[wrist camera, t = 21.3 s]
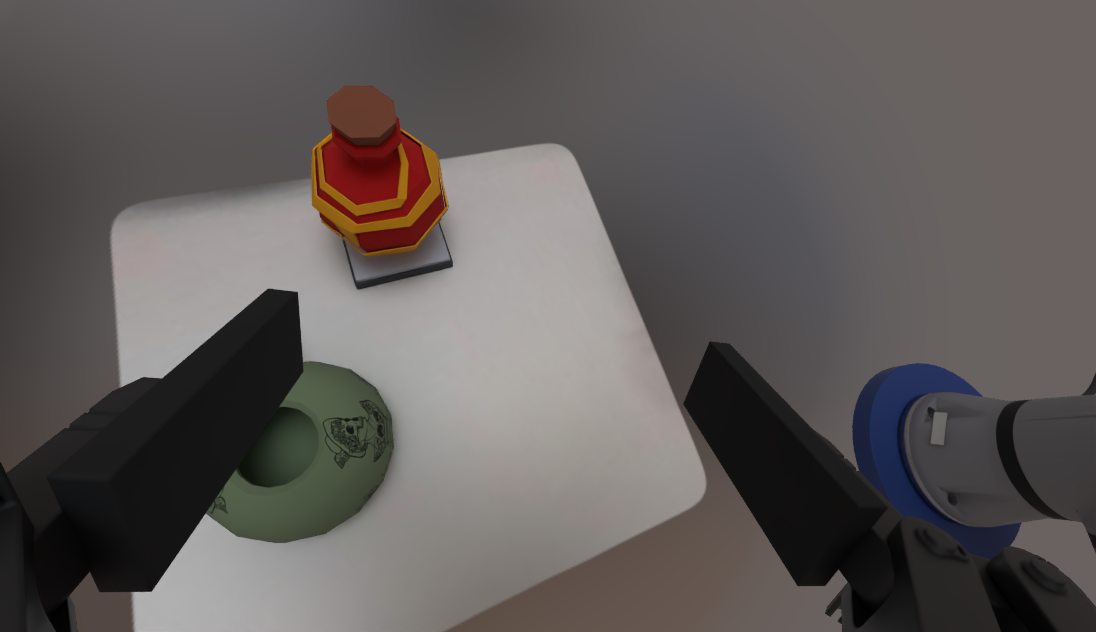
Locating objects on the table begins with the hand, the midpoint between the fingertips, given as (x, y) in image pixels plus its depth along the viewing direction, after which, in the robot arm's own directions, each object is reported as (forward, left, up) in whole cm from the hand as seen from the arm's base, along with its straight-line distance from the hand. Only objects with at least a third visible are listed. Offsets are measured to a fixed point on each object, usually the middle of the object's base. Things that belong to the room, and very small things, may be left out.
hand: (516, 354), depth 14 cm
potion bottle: (+9, -16, -24) cm, 31 cm away
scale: (+9, -17, -26) cm, 32 cm away
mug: (+13, +2, -26) cm, 29 cm away
